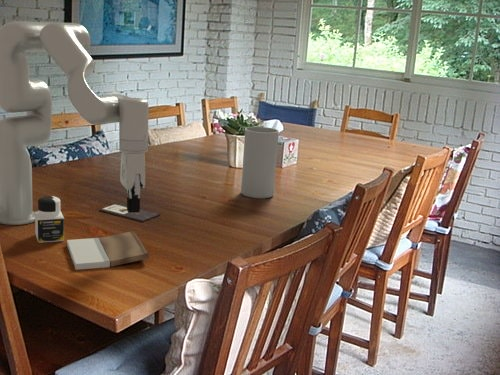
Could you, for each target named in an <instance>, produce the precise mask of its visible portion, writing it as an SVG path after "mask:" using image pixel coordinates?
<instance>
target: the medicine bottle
mask: <svg viewBox="0 0 500 375" xmlns="http://www.w3.org/2000/svg"><path fill="white" fill-rule="evenodd" d="M34 212H35V221H34V224H35V226H34V227H35V228H34V229H35V233H34V234H35V237H36V240H37V243H40V244H42V243H54V242H64V241H65V217H64V215H63V213H62V211H61V199H60V198H59V197H57V196H54V195H47V196H43V197H40V198H39V199H38V200H37V211H34Z"/></svg>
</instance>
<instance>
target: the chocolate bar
mask: <svg viewBox="0 0 500 375" xmlns="http://www.w3.org/2000/svg"><path fill="white" fill-rule="evenodd" d="M98 211H99V212H102V213H106V214H109V215H112V216H117V217H120V216H121V218H124V217H125V218H124V219H128V218H129V219H128V220H132V221H136V220H137V222H139V223H144V222H147V221H150V220H153V219H156V218H157V217H160V216H161V214H160V213H157V212H152V211H148V210H145V209H141V208H140V212H135V213H129V212H128V211H127V205H125V204H120V203H114V204H112V205H110V206H109V205H108V206H105V207H103V208H100V209H99V210H98ZM155 217H156V218H155ZM152 218H153V219H152Z"/></svg>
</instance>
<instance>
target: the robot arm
mask: <svg viewBox="0 0 500 375" xmlns="http://www.w3.org/2000/svg"><path fill="white" fill-rule="evenodd" d="M90 46H91V35H90V33H89V32H88V30H87V29H86V27H84V26H83V25H82V24H80V23H76V22H46V21H45V22H44V21H25V20H23V21H21V20H20V21H19V20H17V21H10V22H7V23H4V24H2V25H1V26H0V108H1V110H3V111H4V112H6V113H13V114H14V113H24V112H26V115H16V116H8V117H5V118H2V119H0V224H2V225H9V226H10V225H11V226H16V225H17V226H18V225H26V224H31V223H33V222H34V223H35V212H36V211H34V209H33V208H34V207H33V168H32V166H33V165H32V164H33V163H32V160H31V157H30V155H29V154H28V152H27V151H26V150H27V149H26V148H28V147H35V146H39V145H43V144H45V143H47V142H48V140H50V137H51V134H52V126H53V125H52V124H53V123H52V116H53V115H52V113H53V112H52V111H53V107H52V106H53V104H52V102H53V98H52V93H51V90H50V87H49V86H48V84H47V83H46V82H45V81H44V80H41V79H38V78H30V64H29V62H28V59H27V57H26V56H25V54H24V53H48V54H49V56H50V57H51V59H52V60H53V61H54V63H55V64H56V65H57V66H58V67H59V69H60V70H61V71H62V73H63V74H64V76H65V77H66V78H67V82H66V89H67V95H68V98H69V101H70V103H71V104H72V106H73V107H74V109H75V110H76V111H77V113H78V114H79V115H80V116H81V117H82V119H84V120H85V121H86V122H87V123H88V124H91V125H93V126H102V125H107V124H114V123H119V124H118V125H119V126H118V129H119V131H118V137H119V138H118V143H119V144H118V149H119V152H121V155H120V175H119V176H120V177H119V181H120V183H121V185H122V186H123V187H124V189H126V195H127V197H126V206H127V211H128V212H129V213H135V212H140V209H141V190H143V189H145V186H146V158H145V155H146V154H145V153H147V152H148V151H149V102H148V101H147V99H145V98H142V97H141V98H140V97H132V96H127V95H125V94H120V93H114V94H104V95H103V94H102V95H96V94H95V93H94V92H93V90H92V89H91V88H90V87H89V86H90V85H88V83H87V82H86V78H87V77H88V76H90V74H91V73H92V72H93V70H94V68H95V61H94V59H93V58H92V56H91V55H90V54H89V53H88V49H89V48H90Z"/></svg>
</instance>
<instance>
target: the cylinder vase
mask: <svg viewBox="0 0 500 375" xmlns="http://www.w3.org/2000/svg"><path fill="white" fill-rule="evenodd" d="M279 132H280V131H279V129H276V128H273V127H268V126H267V127H266V126H265V127H264V126H248V127H247V126H246V127H245V128H244V139H243V141H244V142H243V156H242V169H241V183H240V193H241V195H243V196H244V197H247V198H251V199H260V200H261V199H268V198H271V197H273V196H274V193H275V192H274V191H275V182H276V169H277V159H278V158H277V156H278V147H279V146H278V143H279Z"/></svg>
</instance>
